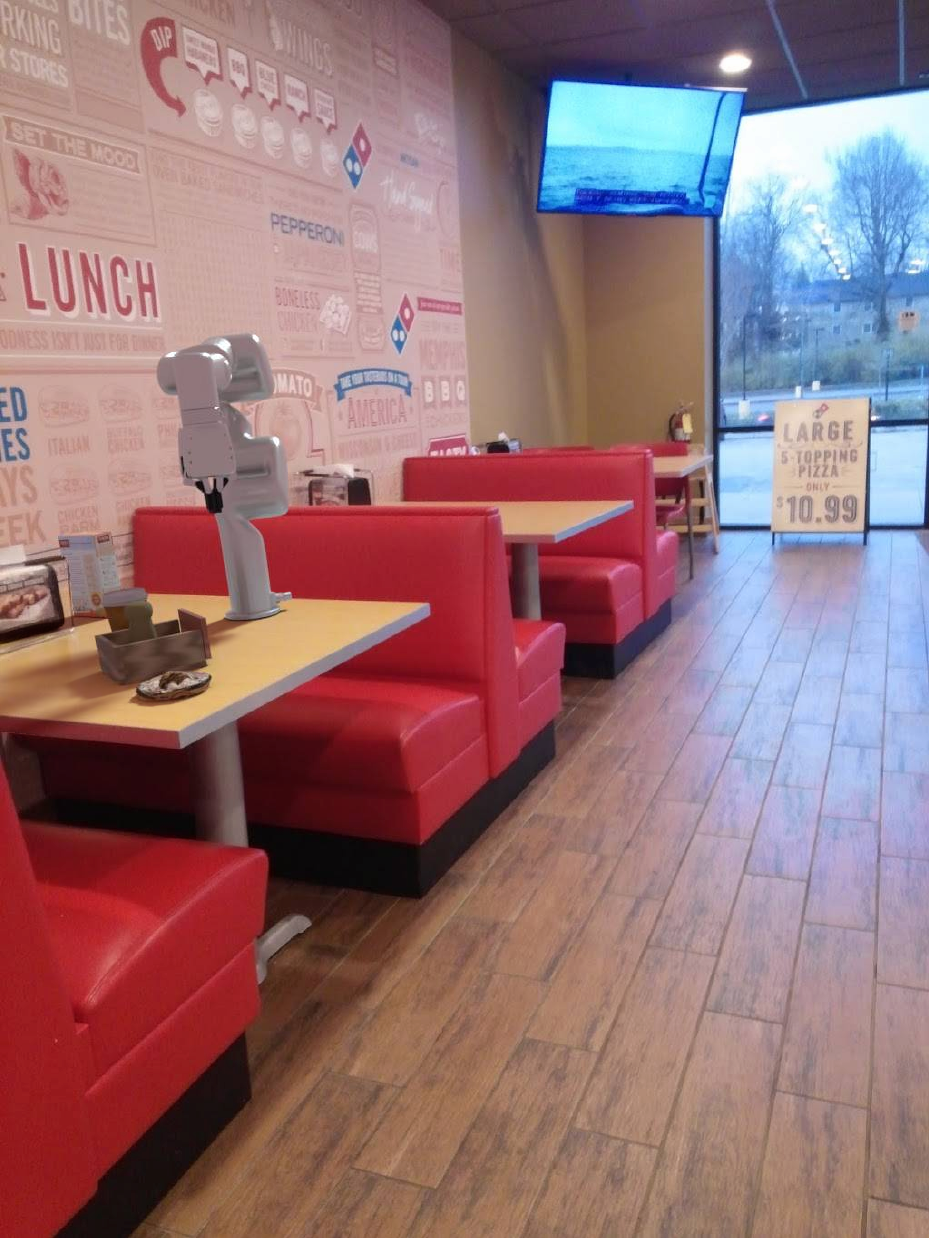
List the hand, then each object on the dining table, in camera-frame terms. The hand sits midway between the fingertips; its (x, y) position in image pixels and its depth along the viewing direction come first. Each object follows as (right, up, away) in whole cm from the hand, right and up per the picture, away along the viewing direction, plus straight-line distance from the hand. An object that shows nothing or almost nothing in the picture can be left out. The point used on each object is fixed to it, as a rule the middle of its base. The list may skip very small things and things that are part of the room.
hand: (215, 512), depth 194 cm
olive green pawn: (-11, -29, -7) cm, 32 cm away
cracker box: (-43, -20, +53) cm, 72 cm away
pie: (-1, -34, -24) cm, 42 cm away
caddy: (-10, -30, -7) cm, 33 cm away
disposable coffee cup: (-21, -27, +13) cm, 36 cm away
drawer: (-9, -29, -6) cm, 31 cm away
